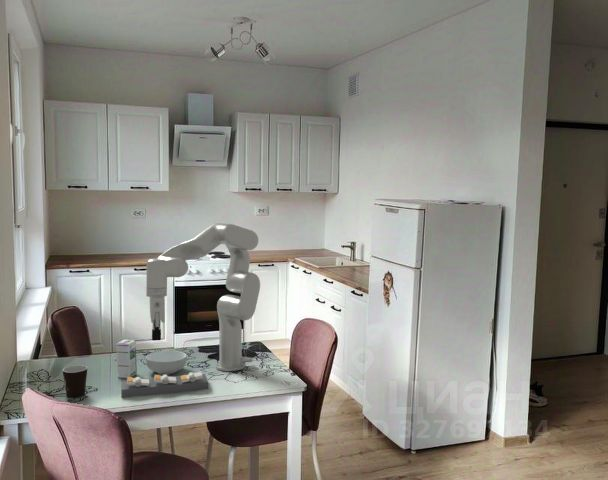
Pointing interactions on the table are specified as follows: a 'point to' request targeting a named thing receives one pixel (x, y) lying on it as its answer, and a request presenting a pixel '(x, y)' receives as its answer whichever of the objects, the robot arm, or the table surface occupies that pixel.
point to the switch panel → (163, 387)
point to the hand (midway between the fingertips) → (156, 339)
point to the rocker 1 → (137, 381)
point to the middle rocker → (164, 379)
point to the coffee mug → (75, 380)
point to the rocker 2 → (191, 377)
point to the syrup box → (126, 358)
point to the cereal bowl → (166, 361)
